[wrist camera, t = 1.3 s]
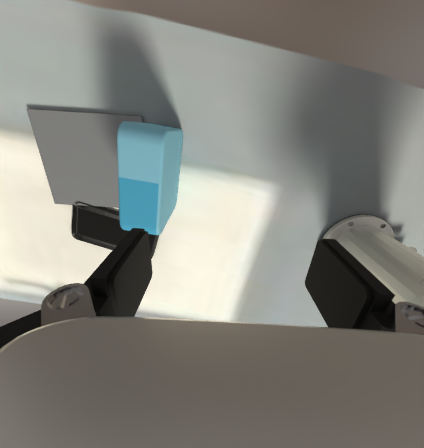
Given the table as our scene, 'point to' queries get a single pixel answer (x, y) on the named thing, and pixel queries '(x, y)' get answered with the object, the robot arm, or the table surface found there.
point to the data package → (147, 174)
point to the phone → (101, 227)
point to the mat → (80, 155)
